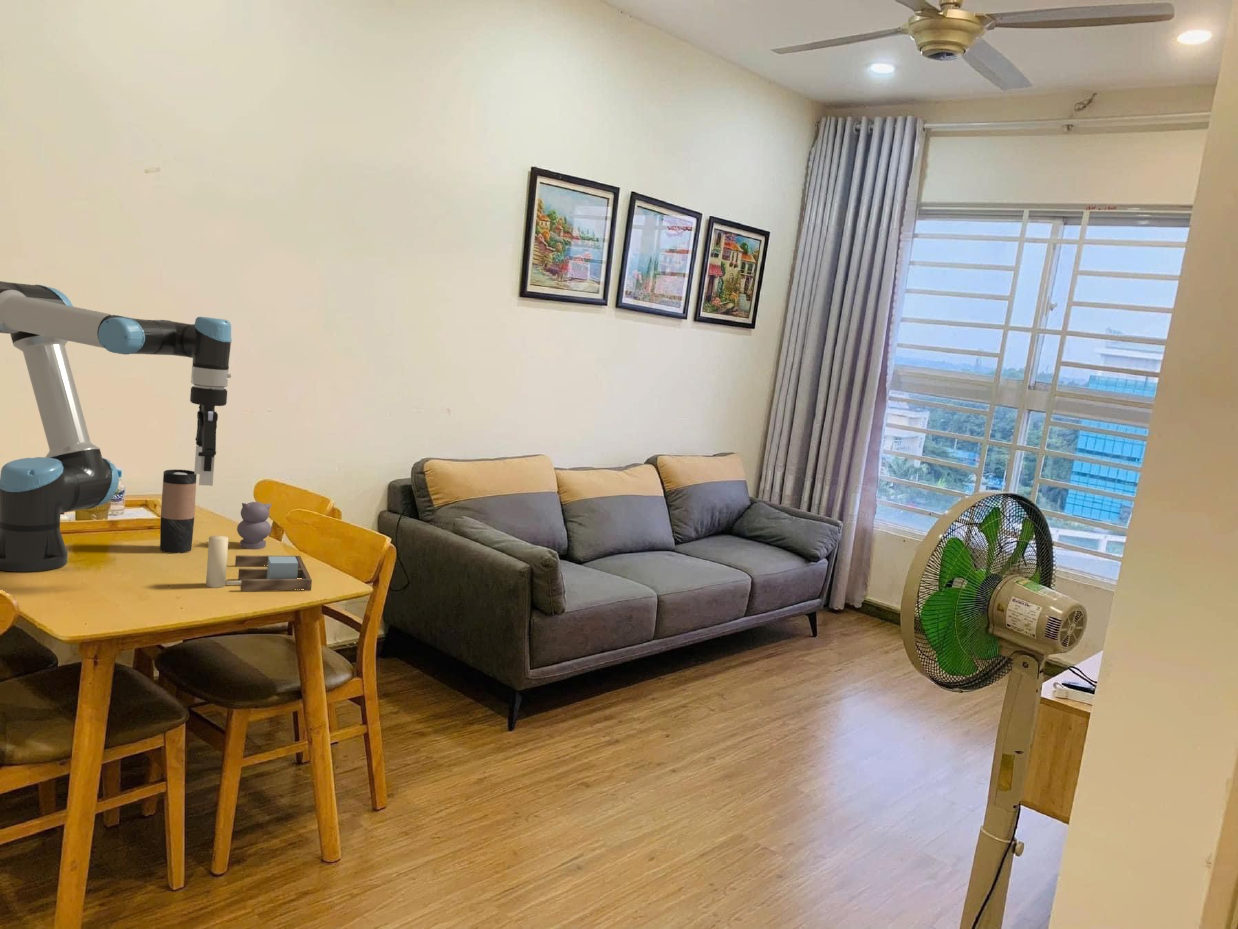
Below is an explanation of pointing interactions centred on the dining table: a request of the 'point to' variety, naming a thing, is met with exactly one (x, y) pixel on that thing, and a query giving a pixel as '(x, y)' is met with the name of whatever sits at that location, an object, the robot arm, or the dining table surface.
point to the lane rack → (258, 577)
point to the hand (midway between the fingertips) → (203, 479)
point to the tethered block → (218, 562)
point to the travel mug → (177, 511)
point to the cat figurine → (254, 525)
